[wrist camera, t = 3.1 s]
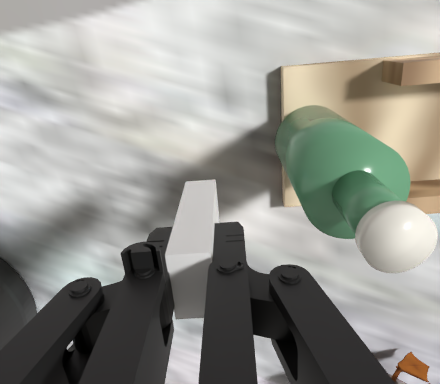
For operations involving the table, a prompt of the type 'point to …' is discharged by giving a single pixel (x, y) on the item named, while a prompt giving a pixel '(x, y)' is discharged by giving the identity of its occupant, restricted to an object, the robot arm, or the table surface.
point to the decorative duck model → (410, 368)
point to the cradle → (378, 111)
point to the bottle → (354, 188)
